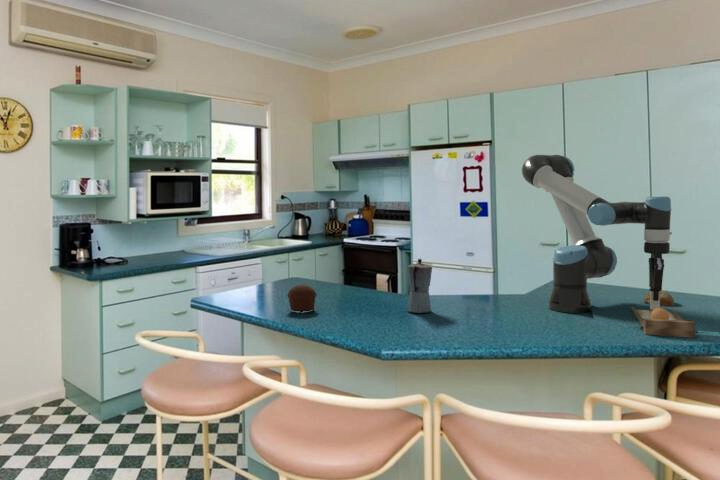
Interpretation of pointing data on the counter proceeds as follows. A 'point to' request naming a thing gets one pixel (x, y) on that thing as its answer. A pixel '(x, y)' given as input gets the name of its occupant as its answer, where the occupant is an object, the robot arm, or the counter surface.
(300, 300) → the muffin
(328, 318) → the counter surface
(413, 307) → the moka pot
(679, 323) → the lane
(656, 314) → the ball
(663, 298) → the bread roll
